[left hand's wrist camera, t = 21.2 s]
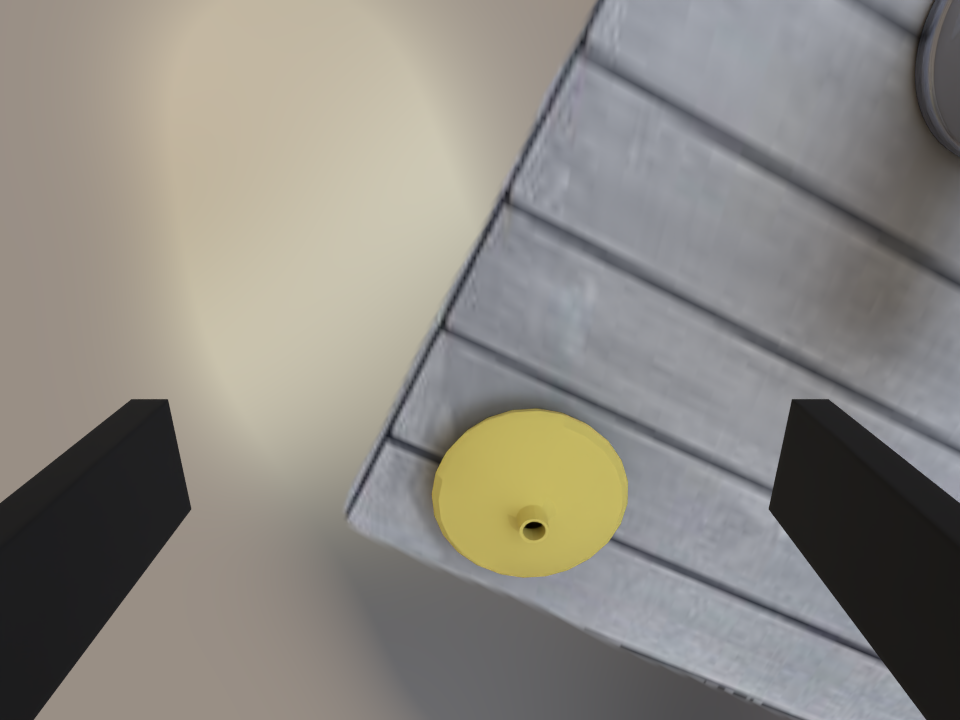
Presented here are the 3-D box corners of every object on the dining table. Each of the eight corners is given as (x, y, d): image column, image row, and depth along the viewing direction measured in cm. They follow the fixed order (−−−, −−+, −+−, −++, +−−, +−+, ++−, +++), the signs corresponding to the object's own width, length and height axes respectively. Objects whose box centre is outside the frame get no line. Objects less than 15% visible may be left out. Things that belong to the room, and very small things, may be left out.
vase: (575, 362, 47) (590, 401, 40) (647, 512, 52) (672, 568, 45) (400, 442, 49) (388, 491, 43) (485, 577, 55) (486, 639, 48)
